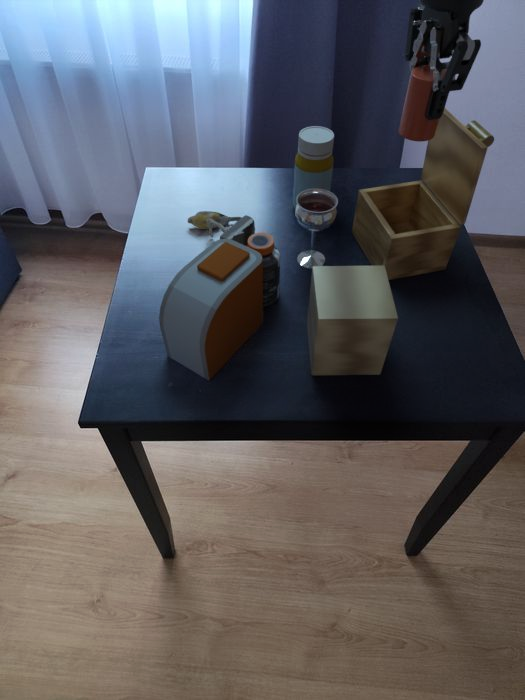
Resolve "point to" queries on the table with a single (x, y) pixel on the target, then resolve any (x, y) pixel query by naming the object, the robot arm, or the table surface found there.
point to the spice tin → (418, 106)
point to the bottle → (313, 160)
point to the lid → (455, 163)
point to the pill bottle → (267, 265)
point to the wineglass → (315, 220)
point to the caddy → (404, 229)
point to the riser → (349, 320)
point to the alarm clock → (213, 306)
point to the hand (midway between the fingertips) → (422, 108)
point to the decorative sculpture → (215, 219)
